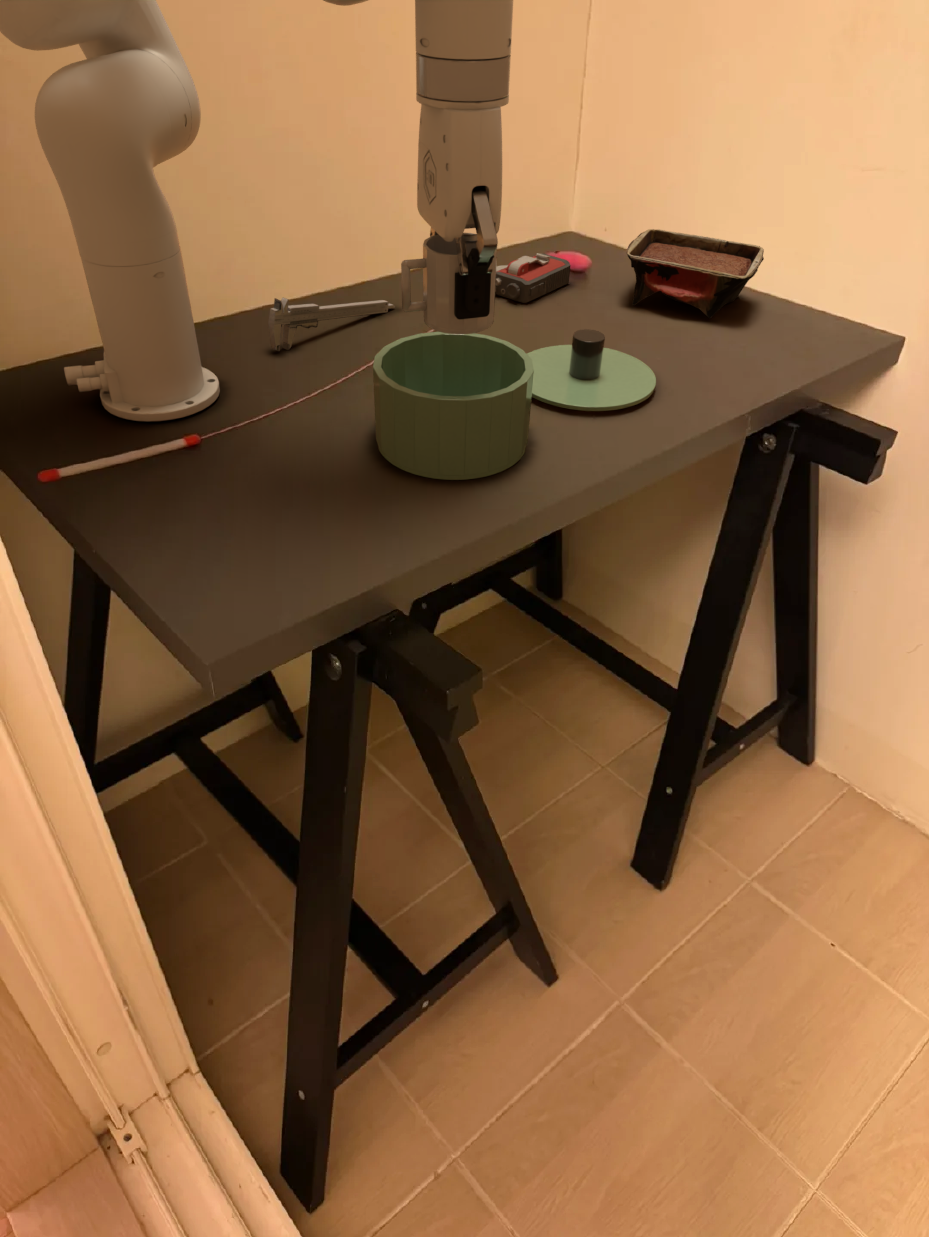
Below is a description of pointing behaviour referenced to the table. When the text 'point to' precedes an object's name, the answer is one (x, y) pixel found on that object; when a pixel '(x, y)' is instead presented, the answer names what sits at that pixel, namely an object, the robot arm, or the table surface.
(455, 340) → the pot
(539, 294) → the walkie-talkie
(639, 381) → the pot lid
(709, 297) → the baking dish
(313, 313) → the caliper
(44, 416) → the table surface
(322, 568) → the table surface
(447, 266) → the mug
